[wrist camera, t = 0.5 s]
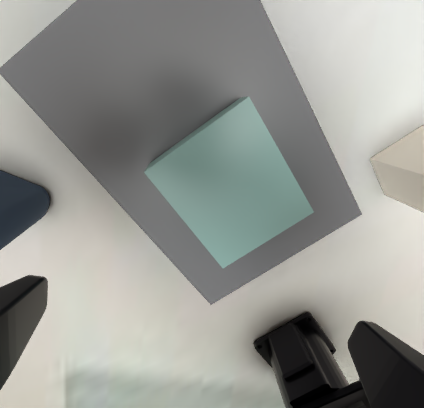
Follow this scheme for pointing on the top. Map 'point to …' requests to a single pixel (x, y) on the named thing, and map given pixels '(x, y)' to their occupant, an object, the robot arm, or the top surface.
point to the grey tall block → (403, 169)
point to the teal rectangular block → (230, 183)
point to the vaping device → (19, 206)
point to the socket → (177, 113)
